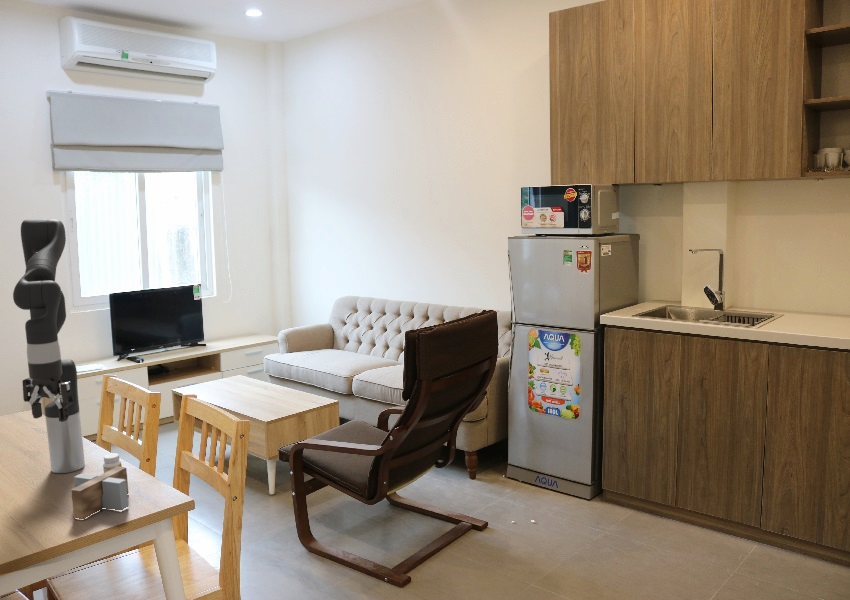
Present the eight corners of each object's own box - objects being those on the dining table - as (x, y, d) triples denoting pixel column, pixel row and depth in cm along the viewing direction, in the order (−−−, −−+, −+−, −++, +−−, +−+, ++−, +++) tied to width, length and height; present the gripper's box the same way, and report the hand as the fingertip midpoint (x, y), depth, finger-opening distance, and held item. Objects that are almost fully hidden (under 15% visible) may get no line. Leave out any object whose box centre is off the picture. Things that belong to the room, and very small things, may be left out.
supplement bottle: (118, 479, 209) (115, 451, 208) (126, 482, 206) (123, 454, 205) (101, 484, 205) (99, 456, 204) (110, 488, 202) (107, 459, 201)
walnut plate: (120, 494, 198) (117, 466, 197) (128, 495, 197) (126, 467, 196) (74, 519, 183) (70, 489, 182) (83, 520, 182) (80, 491, 181)
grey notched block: (76, 505, 192) (73, 476, 190) (83, 501, 194) (81, 473, 193) (121, 512, 187) (119, 483, 185) (128, 508, 189) (126, 479, 188)
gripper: (77, 357, 185) (83, 417, 188) (34, 352, 189) (41, 411, 192) (54, 364, 178) (60, 427, 181) (10, 360, 182) (17, 421, 185)
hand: (50, 419), depth 186 cm, fingers open, 8 cm apart
